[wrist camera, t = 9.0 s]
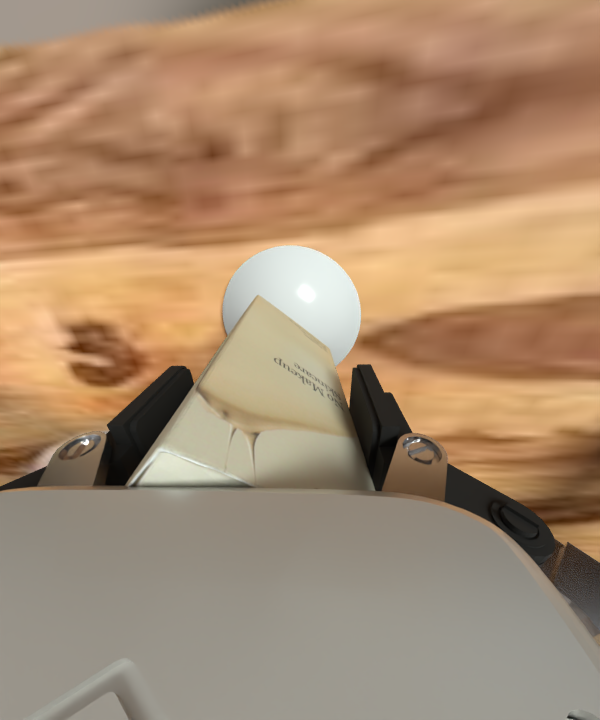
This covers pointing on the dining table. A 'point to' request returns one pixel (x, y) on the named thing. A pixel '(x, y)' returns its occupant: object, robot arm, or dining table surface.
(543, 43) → the dining table surface
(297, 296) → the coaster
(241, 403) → the skincare box
